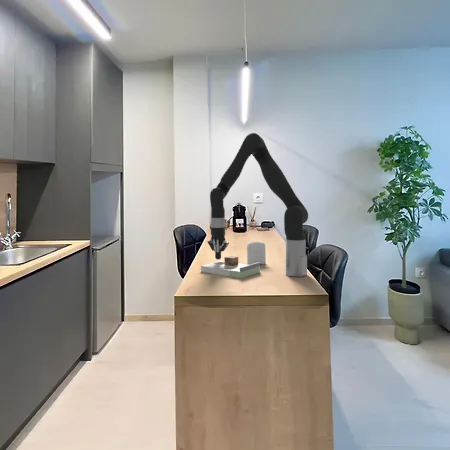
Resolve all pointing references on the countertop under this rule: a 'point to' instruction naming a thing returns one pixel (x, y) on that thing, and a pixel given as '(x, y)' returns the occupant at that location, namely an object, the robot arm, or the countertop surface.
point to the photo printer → (256, 253)
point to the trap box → (231, 269)
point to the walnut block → (231, 260)
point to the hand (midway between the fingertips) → (218, 259)
